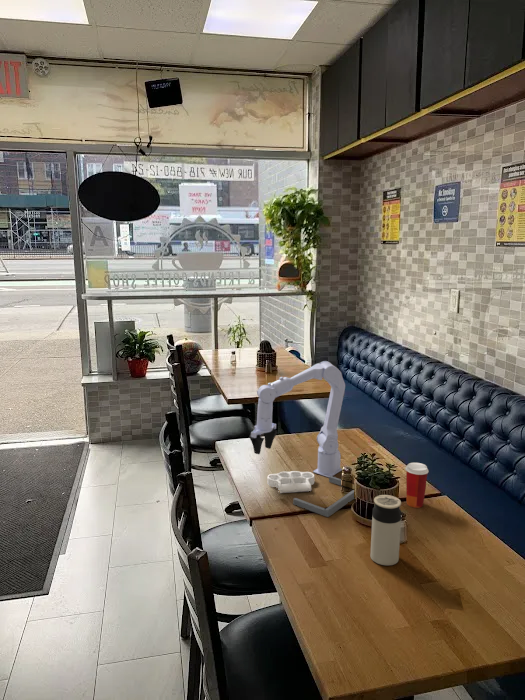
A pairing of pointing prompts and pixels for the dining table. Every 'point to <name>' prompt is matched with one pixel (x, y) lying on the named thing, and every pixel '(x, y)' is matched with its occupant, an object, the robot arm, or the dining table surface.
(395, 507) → the travel mug
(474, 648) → the dining table surface
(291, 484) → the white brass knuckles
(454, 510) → the dining table surface
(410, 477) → the paper cup
